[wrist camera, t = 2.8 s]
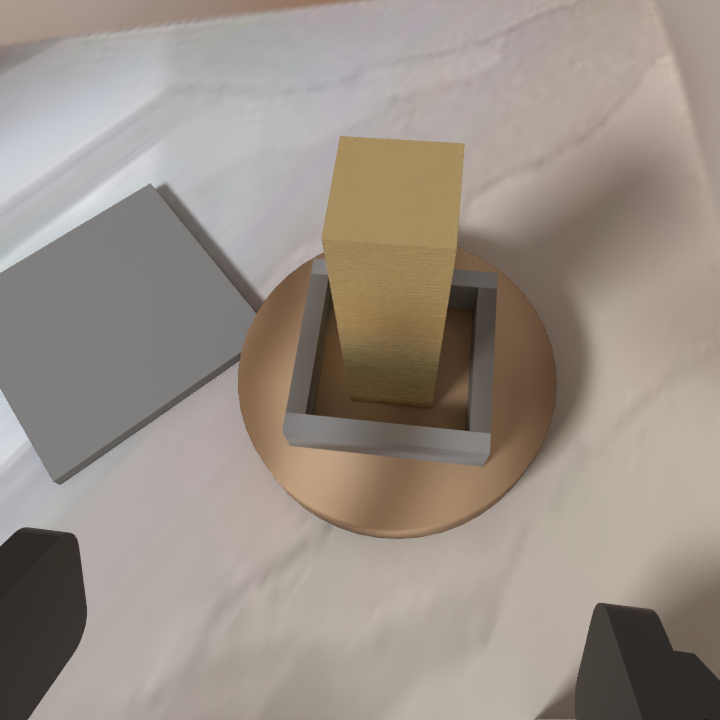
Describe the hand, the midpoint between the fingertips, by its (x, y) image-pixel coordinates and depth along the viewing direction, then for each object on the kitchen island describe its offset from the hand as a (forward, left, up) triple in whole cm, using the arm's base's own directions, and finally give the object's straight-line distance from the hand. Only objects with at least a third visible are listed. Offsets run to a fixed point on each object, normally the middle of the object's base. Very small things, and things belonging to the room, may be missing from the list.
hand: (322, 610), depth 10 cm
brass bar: (-8, +8, -15) cm, 19 cm away
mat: (-20, -1, -18) cm, 26 cm away
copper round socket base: (-8, +8, -18) cm, 21 cm away
